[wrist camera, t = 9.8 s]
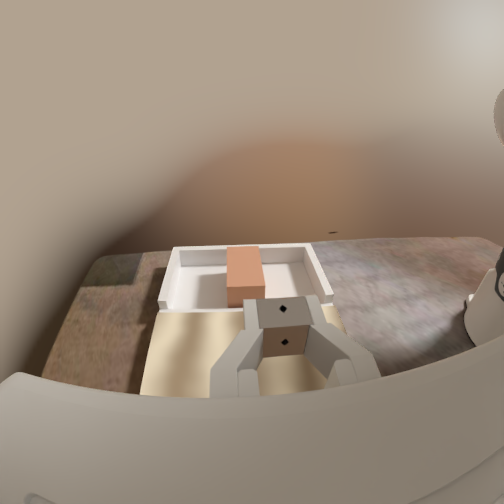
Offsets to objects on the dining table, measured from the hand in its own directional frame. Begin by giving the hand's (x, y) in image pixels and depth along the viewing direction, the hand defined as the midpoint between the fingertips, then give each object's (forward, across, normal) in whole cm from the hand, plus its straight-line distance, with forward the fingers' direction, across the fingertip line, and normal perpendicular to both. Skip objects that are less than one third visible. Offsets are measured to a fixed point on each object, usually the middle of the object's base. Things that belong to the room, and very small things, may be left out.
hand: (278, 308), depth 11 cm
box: (+25, +1, +21) cm, 33 cm away
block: (+19, +1, +18) cm, 26 cm away
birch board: (+11, +1, +21) cm, 24 cm away
